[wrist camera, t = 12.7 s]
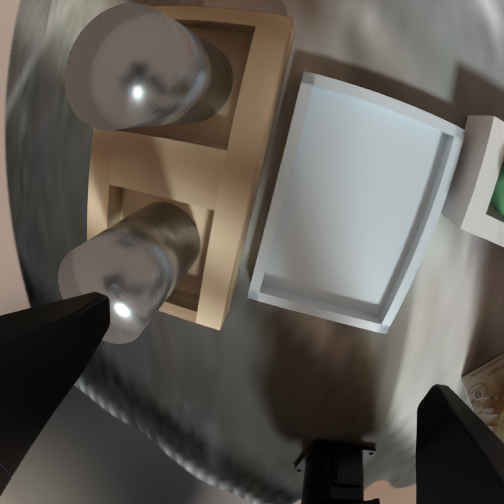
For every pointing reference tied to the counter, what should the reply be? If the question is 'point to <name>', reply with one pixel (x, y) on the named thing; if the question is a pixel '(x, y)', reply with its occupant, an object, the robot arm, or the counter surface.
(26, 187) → the counter surface
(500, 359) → the coffee box
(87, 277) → the billet
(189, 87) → the cylinder
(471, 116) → the white square frame
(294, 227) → the grey flat rimmed tray
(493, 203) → the button
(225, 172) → the shallow beige tray
